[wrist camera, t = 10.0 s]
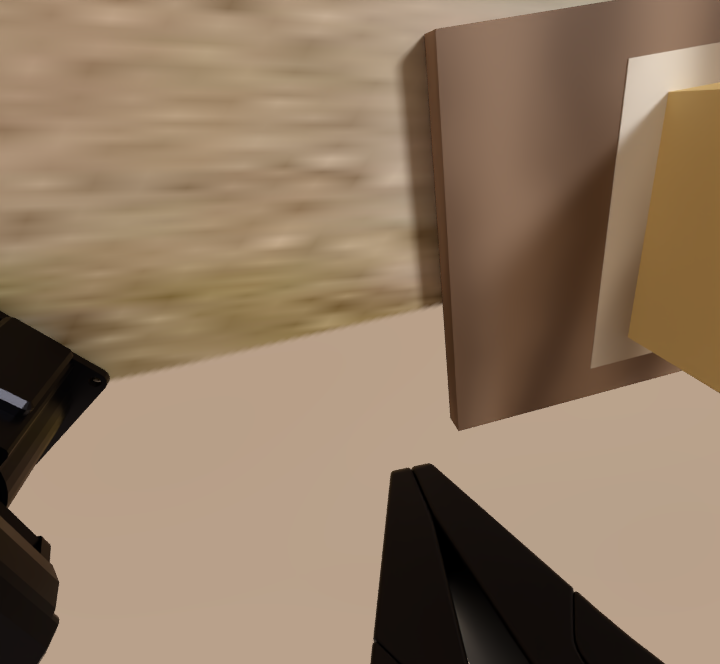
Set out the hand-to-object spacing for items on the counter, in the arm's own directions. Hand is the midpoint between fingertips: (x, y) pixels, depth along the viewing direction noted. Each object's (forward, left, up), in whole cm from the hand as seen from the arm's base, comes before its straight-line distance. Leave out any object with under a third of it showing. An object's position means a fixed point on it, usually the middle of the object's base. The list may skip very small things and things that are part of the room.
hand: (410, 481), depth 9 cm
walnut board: (+14, -11, -13) cm, 22 cm away
